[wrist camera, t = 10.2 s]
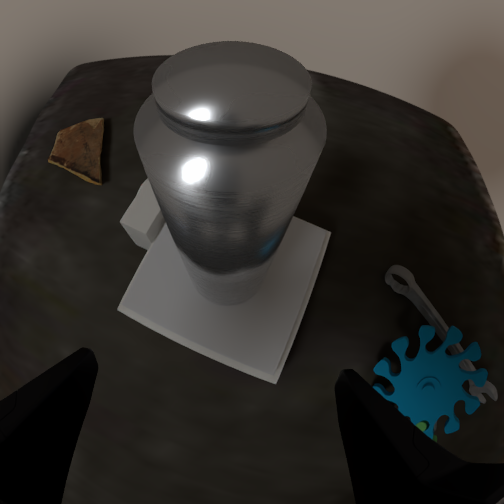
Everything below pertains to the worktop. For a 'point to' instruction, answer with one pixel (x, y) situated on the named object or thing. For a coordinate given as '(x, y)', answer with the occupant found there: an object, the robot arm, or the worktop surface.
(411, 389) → the gear
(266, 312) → the kitchen scale
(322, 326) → the worktop surface
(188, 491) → the worktop surface
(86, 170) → the shard
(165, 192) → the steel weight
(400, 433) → the robot arm
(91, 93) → the worktop surface
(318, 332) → the worktop surface
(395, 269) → the combination wrench
